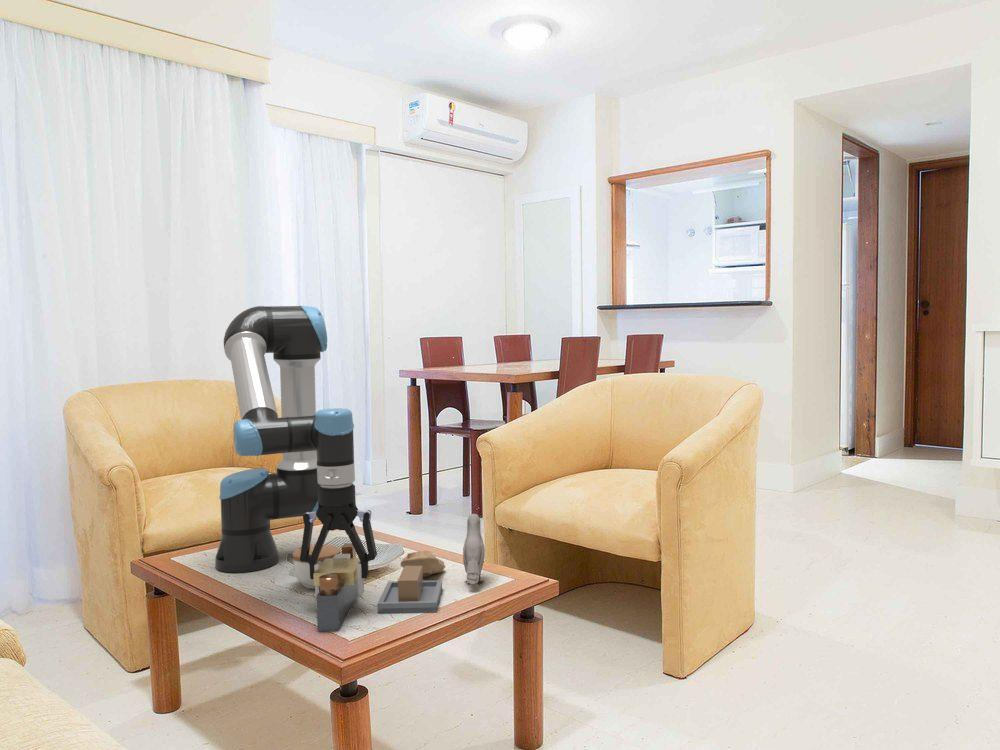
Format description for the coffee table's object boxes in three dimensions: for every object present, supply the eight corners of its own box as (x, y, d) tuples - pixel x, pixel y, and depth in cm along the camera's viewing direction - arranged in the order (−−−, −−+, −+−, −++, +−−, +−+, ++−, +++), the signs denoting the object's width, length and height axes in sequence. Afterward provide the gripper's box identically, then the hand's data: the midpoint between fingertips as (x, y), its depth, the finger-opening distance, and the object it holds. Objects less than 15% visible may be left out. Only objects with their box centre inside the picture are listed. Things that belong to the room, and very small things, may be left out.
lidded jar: (351, 580, 173) (349, 540, 173) (319, 595, 164) (318, 553, 163) (315, 574, 178) (314, 535, 178) (283, 588, 169) (281, 547, 168)
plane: (342, 592, 165) (340, 543, 164) (360, 592, 165) (358, 543, 164) (317, 631, 143) (315, 575, 143) (338, 631, 143) (336, 574, 142)
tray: (388, 590, 166) (387, 563, 166) (442, 589, 166) (441, 562, 166) (377, 613, 152) (376, 584, 152) (436, 612, 152) (435, 583, 152)
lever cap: (325, 570, 159) (325, 552, 159) (363, 569, 159) (362, 552, 158) (313, 585, 149) (313, 567, 149) (353, 584, 149) (353, 566, 148)
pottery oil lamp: (457, 574, 176) (456, 544, 176) (421, 588, 167) (420, 556, 167) (431, 567, 182) (430, 538, 181) (394, 580, 173) (393, 550, 172)
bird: (486, 573, 176) (484, 510, 176) (483, 592, 163) (482, 524, 162) (465, 573, 177) (464, 510, 176) (461, 592, 163) (459, 525, 162)
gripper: (280, 489, 149) (284, 601, 150) (384, 487, 149) (387, 599, 150) (290, 482, 157) (294, 588, 158) (390, 479, 156) (393, 586, 158)
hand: (340, 593), depth 154 cm, fingers closed on lever cap, 8 cm apart
